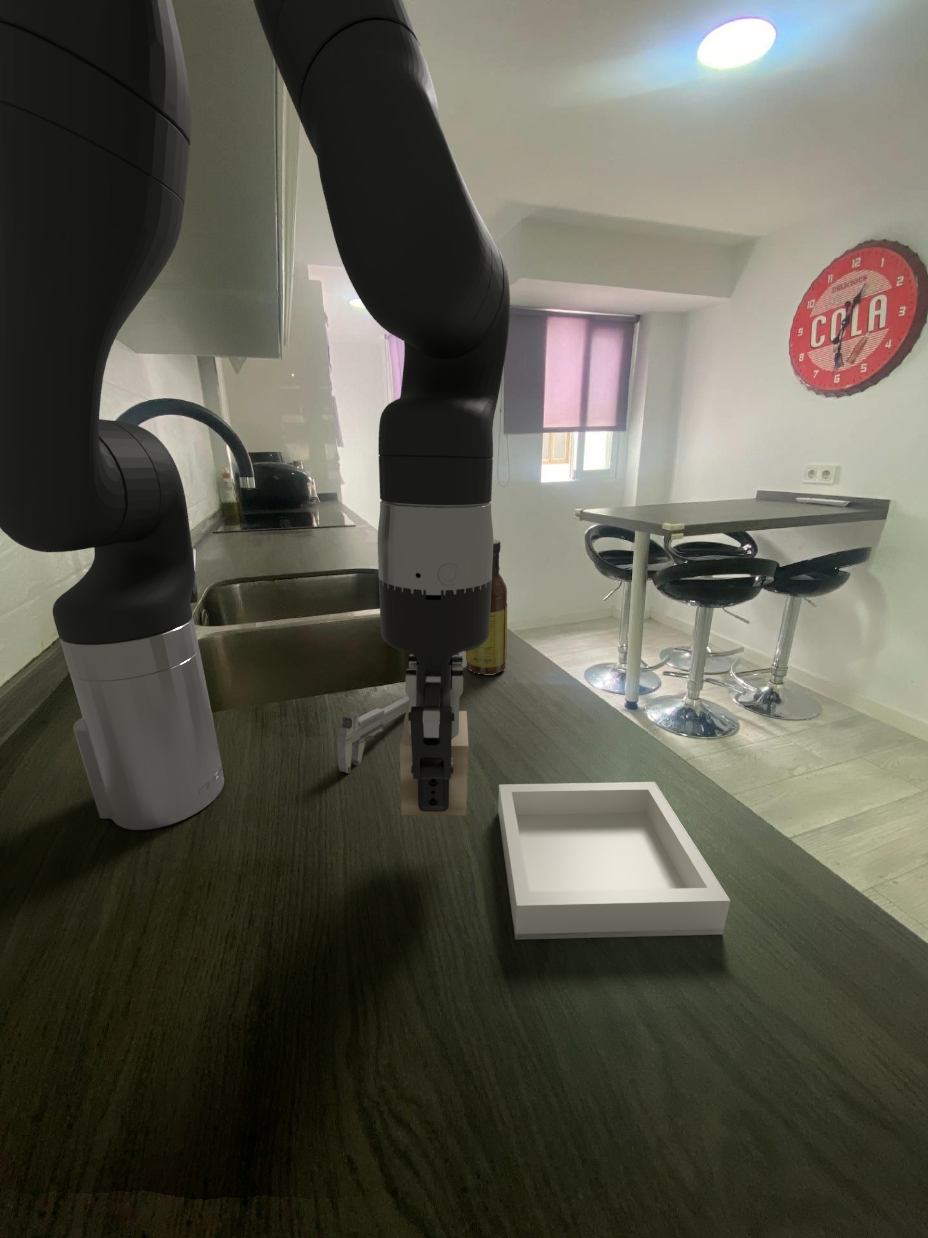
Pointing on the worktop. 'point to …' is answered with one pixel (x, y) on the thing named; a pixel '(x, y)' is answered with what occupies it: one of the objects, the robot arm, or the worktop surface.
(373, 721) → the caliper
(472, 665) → the sauce bottle
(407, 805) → the block
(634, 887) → the tray
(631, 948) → the worktop surface
